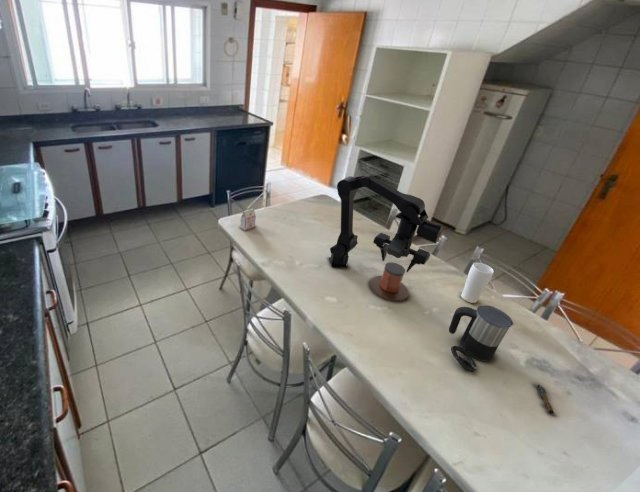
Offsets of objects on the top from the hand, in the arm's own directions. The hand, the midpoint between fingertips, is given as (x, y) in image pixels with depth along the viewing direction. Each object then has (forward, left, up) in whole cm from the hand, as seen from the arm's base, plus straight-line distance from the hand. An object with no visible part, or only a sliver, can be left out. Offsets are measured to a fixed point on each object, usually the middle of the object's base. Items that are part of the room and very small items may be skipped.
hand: (395, 266), depth 125 cm
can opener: (+26, -44, -11) cm, 53 cm away
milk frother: (+14, -30, -11) cm, 35 cm away
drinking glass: (+30, -4, -11) cm, 32 cm away
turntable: (0, 0, -11) cm, 11 cm away
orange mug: (-1, -1, -10) cm, 10 cm away
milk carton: (-55, +44, -11) cm, 71 cm away
